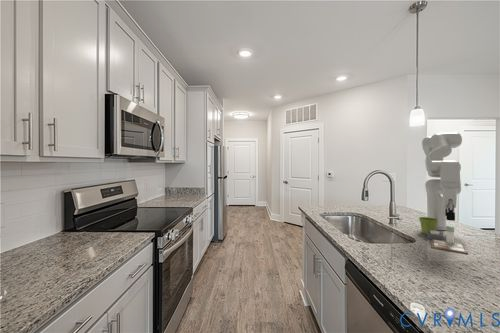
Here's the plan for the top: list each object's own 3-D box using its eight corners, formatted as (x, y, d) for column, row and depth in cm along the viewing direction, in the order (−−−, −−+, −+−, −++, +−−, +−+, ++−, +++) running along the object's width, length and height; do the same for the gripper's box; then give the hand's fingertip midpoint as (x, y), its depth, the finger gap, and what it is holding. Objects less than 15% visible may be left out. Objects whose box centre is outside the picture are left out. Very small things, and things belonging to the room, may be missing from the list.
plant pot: (442, 235, 131) (442, 220, 131) (426, 235, 132) (426, 220, 132) (430, 230, 141) (430, 217, 141) (414, 231, 141) (414, 217, 141)
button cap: (430, 234, 129) (430, 229, 129) (439, 235, 127) (439, 231, 127) (430, 235, 126) (430, 231, 126) (439, 237, 124) (439, 232, 124)
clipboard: (431, 239, 124) (431, 237, 124) (463, 244, 116) (463, 242, 116) (431, 248, 112) (431, 245, 112) (467, 254, 103) (467, 251, 103)
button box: (427, 235, 131) (427, 230, 131) (442, 238, 127) (442, 233, 127) (426, 238, 126) (426, 233, 126) (443, 241, 122) (443, 236, 122)
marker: (446, 241, 118) (446, 225, 118) (454, 243, 116) (453, 226, 116) (446, 243, 116) (446, 227, 116) (454, 244, 114) (454, 228, 114)
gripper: (439, 183, 125) (439, 214, 125) (440, 186, 112) (441, 220, 112) (458, 184, 120) (458, 216, 121) (461, 187, 107) (461, 223, 107)
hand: (449, 218), depth 116 cm, fingers open, 9 cm apart
